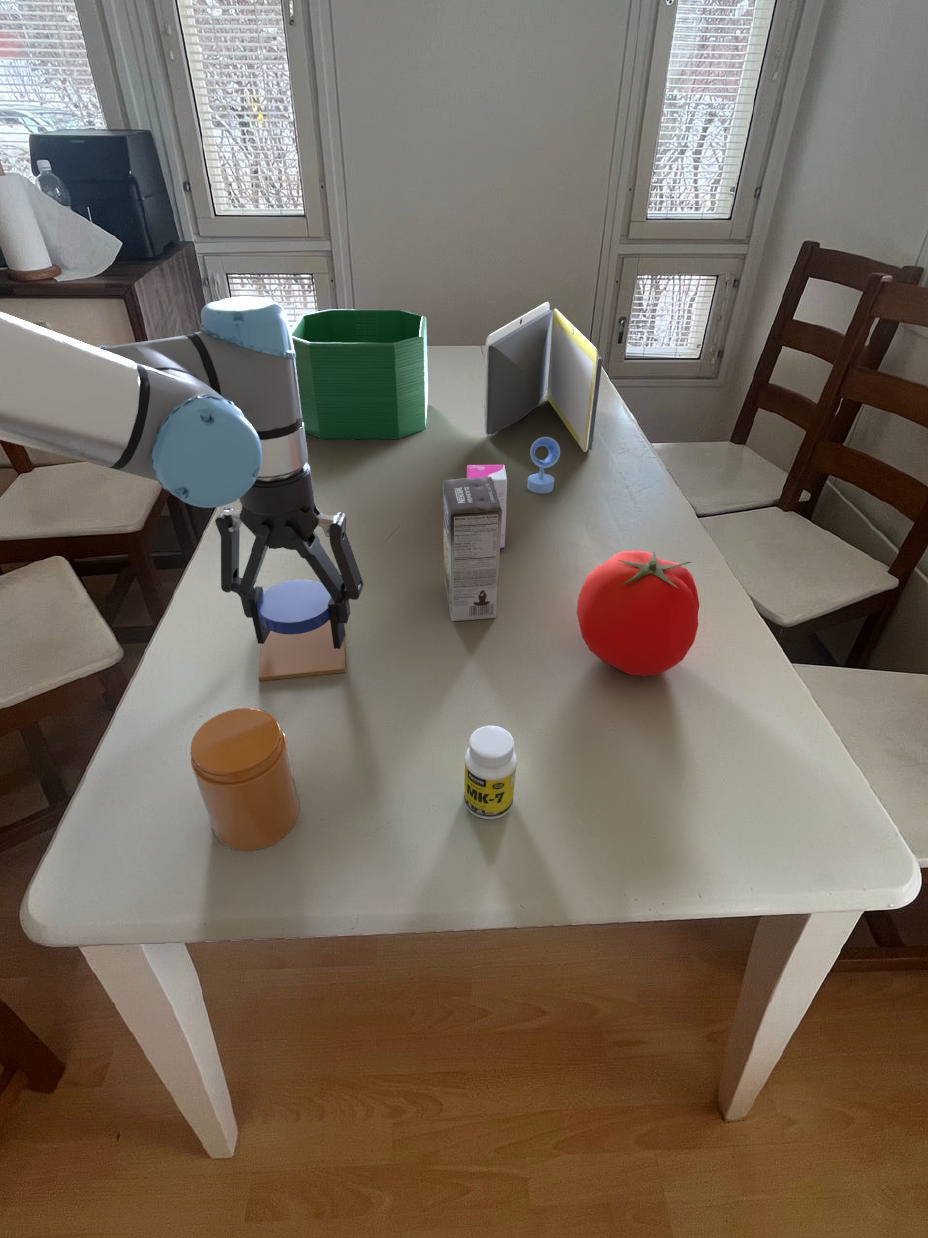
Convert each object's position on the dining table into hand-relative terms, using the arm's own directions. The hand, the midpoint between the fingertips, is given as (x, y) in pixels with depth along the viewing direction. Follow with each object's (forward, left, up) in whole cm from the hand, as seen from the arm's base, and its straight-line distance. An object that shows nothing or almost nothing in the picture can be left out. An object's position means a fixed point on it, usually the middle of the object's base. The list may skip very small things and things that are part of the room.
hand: (302, 639), depth 84 cm
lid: (0, 0, +5) cm, 5 cm away
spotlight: (+40, +38, -2) cm, 55 cm away
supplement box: (+27, +22, -2) cm, 35 cm away
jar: (-4, -24, -2) cm, 24 cm away
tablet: (+45, +68, -2) cm, 82 cm away
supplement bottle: (+18, -26, -2) cm, 32 cm away
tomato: (+39, -7, -2) cm, 40 cm away
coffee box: (+22, +7, -2) cm, 23 cm away
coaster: (0, 0, -2) cm, 2 cm away
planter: (+12, +77, -2) cm, 78 cm away
